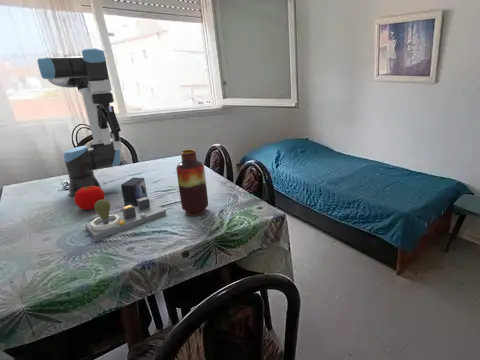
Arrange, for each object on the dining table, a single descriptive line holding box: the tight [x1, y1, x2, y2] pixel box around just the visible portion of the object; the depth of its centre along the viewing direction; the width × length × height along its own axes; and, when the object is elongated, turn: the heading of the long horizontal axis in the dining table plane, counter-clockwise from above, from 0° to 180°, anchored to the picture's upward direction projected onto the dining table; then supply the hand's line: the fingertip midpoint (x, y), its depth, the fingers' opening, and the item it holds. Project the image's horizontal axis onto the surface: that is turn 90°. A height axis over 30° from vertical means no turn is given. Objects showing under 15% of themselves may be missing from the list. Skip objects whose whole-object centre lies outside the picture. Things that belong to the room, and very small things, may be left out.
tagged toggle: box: [121, 205, 136, 219], centre depth 119 cm, size 3×4×4 cm
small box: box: [120, 177, 148, 207], centre depth 138 cm, size 11×6×10 cm, turn 168°
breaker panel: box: [84, 201, 167, 241], centre depth 120 cm, size 13×28×4 cm, turn 131°
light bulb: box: [93, 198, 111, 224], centre depth 114 cm, size 6×6×10 cm
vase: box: [175, 149, 209, 217], centre depth 121 cm, size 11×11×26 cm
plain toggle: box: [137, 196, 150, 210], centre depth 127 cm, size 3×4×4 cm
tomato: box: [73, 185, 105, 210], centre depth 135 cm, size 11×12×10 cm
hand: (112, 146), depth 121 cm, fingers open, 13 cm apart
